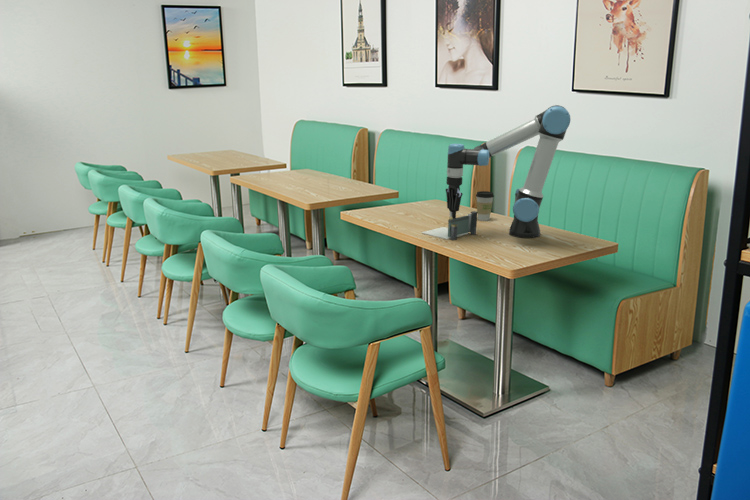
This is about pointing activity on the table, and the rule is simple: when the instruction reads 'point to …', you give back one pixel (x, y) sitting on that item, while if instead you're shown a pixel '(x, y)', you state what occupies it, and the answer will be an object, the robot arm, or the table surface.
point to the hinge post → (473, 222)
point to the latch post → (454, 232)
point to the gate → (460, 224)
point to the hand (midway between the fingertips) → (452, 224)
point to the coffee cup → (484, 205)
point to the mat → (440, 233)
